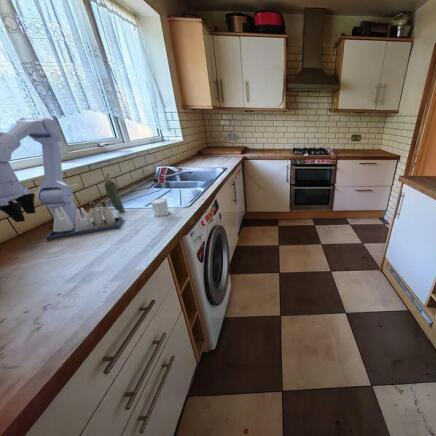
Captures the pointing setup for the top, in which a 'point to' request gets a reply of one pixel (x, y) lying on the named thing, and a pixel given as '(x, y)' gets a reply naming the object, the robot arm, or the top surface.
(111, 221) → the bottle
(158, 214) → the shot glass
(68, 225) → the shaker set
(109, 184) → the vegetable
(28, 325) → the top surface
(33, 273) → the top surface
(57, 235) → the tray
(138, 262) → the top surface
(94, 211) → the bottle
